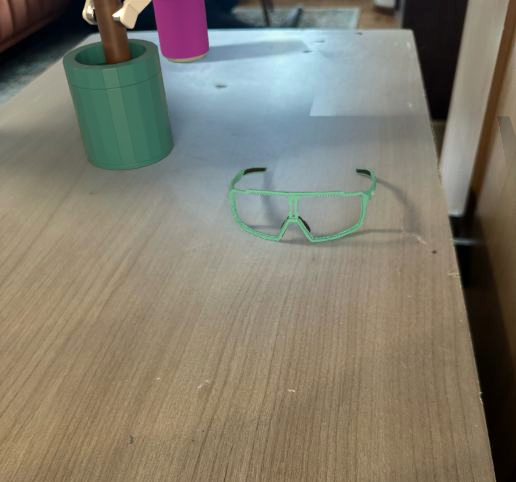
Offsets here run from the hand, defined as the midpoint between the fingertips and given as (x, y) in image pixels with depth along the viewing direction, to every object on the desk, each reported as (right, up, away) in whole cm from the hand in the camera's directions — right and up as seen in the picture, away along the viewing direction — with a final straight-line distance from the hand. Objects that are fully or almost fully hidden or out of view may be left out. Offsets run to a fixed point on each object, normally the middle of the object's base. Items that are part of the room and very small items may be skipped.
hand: (107, 23), depth 67 cm
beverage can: (+4, +12, +35) cm, 37 cm away
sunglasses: (+20, -20, -3) cm, 28 cm away
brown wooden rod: (+1, -8, +8) cm, 11 cm away
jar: (0, -10, +10) cm, 14 cm away
